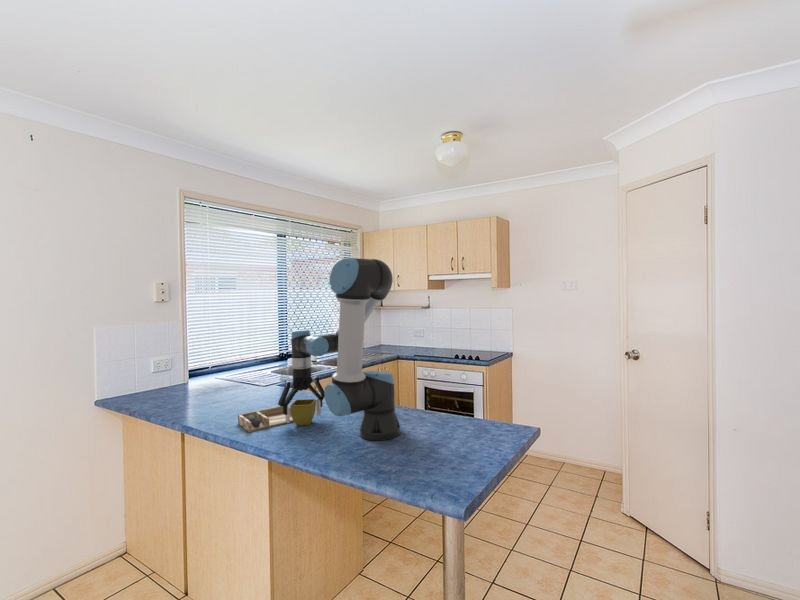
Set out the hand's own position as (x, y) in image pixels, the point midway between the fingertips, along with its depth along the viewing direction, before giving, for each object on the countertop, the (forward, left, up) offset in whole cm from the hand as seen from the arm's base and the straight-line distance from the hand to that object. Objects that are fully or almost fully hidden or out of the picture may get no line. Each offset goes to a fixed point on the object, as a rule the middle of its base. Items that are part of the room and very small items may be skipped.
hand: (303, 418), depth 164 cm
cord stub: (+12, +16, -1) cm, 21 cm away
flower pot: (0, 0, -2) cm, 2 cm away
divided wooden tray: (+13, +10, -2) cm, 16 cm away
